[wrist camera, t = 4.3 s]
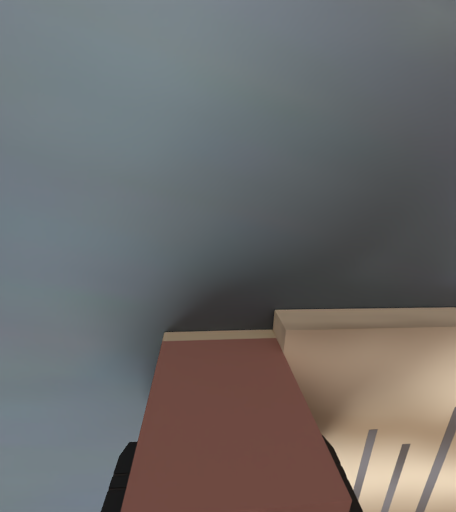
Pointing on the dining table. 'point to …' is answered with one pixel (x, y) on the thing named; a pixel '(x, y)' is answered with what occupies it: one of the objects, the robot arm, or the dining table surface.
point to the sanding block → (230, 432)
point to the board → (381, 398)
